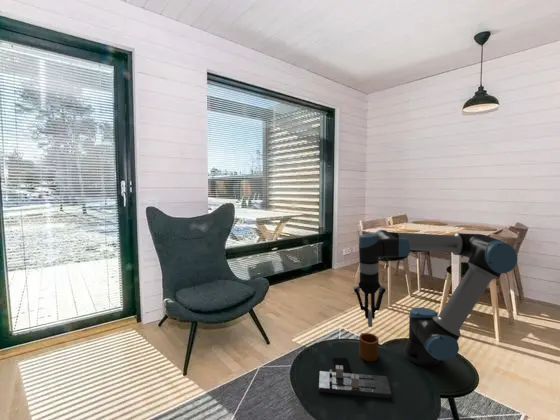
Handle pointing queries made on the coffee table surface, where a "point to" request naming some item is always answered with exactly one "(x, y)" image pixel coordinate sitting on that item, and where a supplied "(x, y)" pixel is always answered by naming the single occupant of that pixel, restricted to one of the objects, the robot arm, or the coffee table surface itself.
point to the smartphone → (342, 364)
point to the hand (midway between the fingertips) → (370, 325)
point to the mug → (368, 346)
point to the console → (367, 387)
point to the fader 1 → (339, 371)
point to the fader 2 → (354, 381)
